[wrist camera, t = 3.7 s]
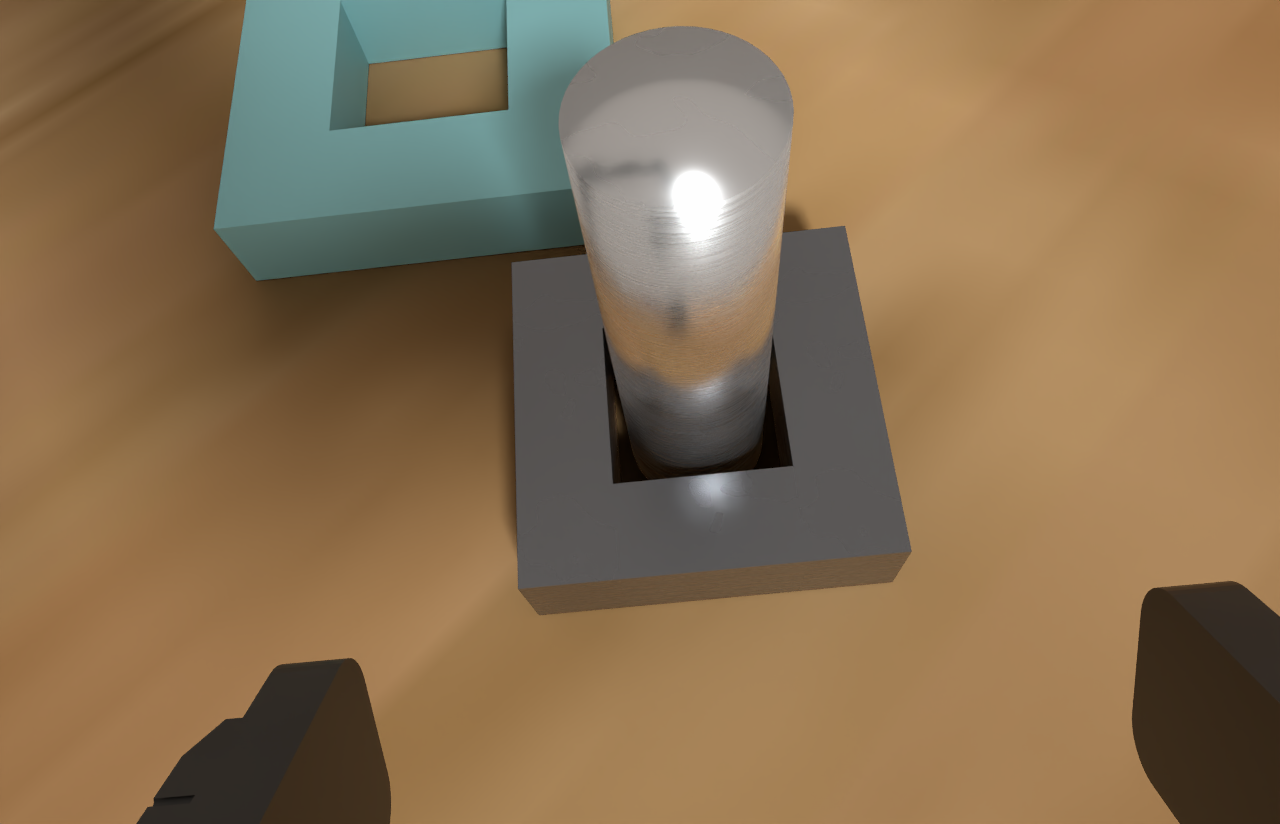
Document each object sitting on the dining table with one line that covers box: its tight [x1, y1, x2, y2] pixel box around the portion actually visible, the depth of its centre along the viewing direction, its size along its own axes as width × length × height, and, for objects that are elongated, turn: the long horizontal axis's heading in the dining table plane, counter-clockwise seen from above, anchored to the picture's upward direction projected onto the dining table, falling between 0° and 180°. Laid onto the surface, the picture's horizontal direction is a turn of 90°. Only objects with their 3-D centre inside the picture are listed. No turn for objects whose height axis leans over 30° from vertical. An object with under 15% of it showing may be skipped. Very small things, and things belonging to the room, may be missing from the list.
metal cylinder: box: [559, 26, 794, 480], centre depth 22 cm, size 4×4×14 cm
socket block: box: [512, 226, 912, 615], centre depth 27 cm, size 10×10×3 cm
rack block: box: [214, 0, 613, 281], centre depth 34 cm, size 13×13×3 cm
